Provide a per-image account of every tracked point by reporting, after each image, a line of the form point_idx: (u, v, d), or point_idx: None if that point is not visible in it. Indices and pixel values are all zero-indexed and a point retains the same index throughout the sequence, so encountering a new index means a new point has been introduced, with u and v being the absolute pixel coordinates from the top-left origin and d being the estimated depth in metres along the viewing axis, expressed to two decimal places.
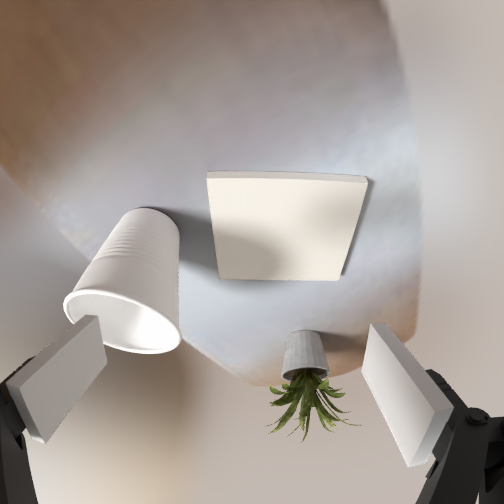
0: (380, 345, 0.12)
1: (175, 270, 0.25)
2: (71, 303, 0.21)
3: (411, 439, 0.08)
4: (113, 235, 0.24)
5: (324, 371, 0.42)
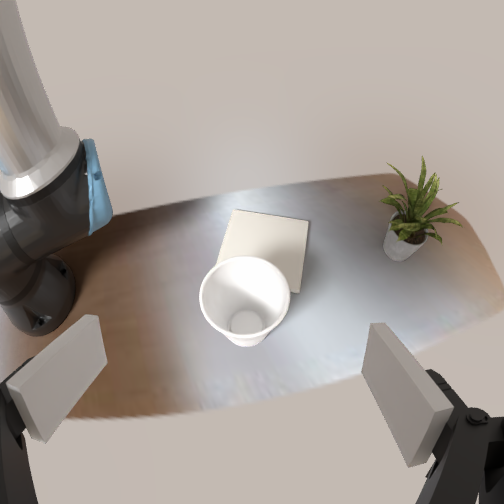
0: (380, 345, 0.12)
1: (247, 284, 0.40)
2: None
3: (411, 439, 0.08)
4: (217, 321, 0.38)
5: None
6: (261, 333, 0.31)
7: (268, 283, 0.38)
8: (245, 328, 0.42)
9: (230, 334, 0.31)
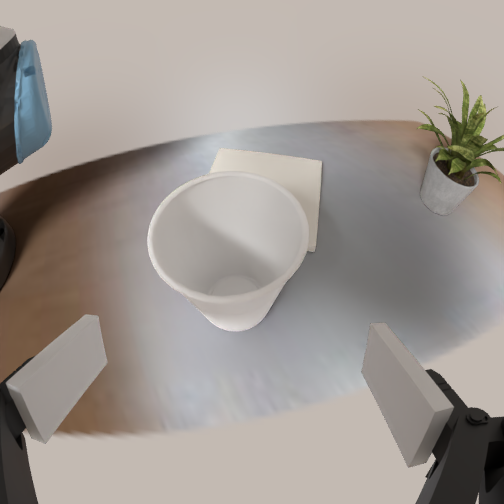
0: (380, 345, 0.12)
1: (235, 229, 0.25)
2: None
3: (411, 439, 0.08)
4: (187, 287, 0.24)
5: None
6: (257, 294, 0.16)
7: (269, 222, 0.23)
8: None
9: (197, 296, 0.16)
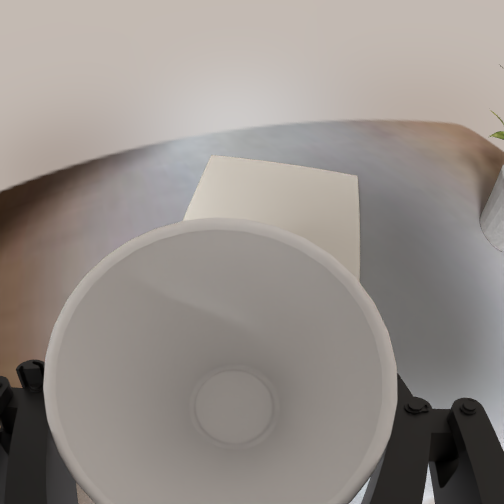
0: None
1: None
2: (124, 501, 0.06)
3: None
4: None
5: None
6: None
7: (297, 314, 0.12)
8: (230, 414, 0.16)
9: None
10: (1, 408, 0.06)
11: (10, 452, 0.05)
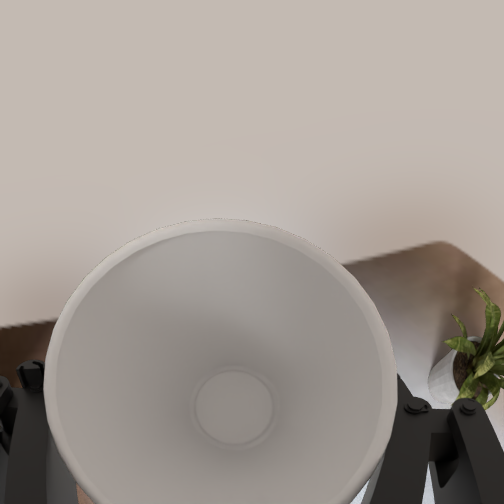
0: None
1: None
2: (125, 502, 0.06)
3: None
4: None
5: (474, 343, 0.24)
6: None
7: (297, 315, 0.12)
8: (230, 414, 0.16)
9: None
10: (1, 408, 0.06)
11: (10, 452, 0.05)
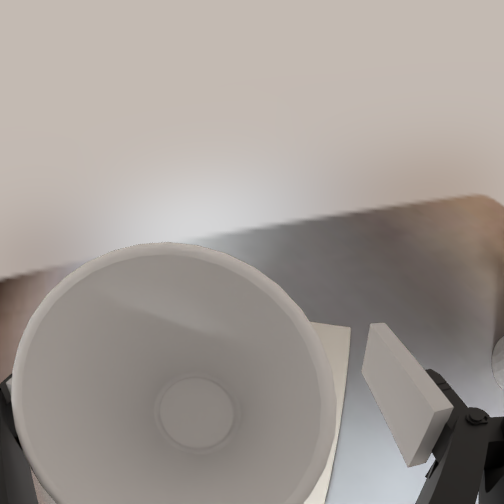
0: (379, 345, 0.12)
1: None
2: None
3: (411, 439, 0.08)
4: None
5: None
6: None
7: (250, 334, 0.12)
8: (193, 420, 0.16)
9: None
10: None
11: None
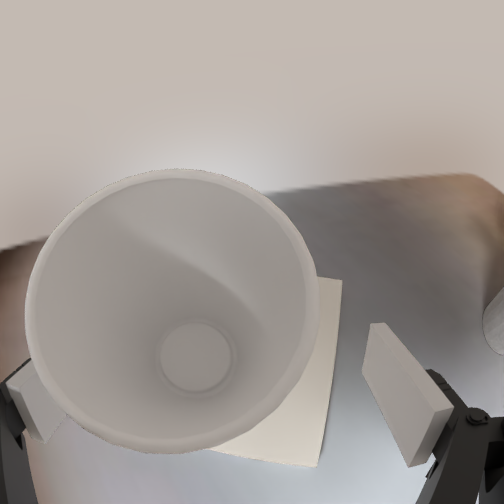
0: (380, 345, 0.12)
1: (192, 261, 0.16)
2: (83, 407, 0.07)
3: (411, 439, 0.08)
4: None
5: None
6: (211, 443, 0.07)
7: (245, 257, 0.14)
8: (192, 362, 0.18)
9: (97, 433, 0.06)
10: None
11: None
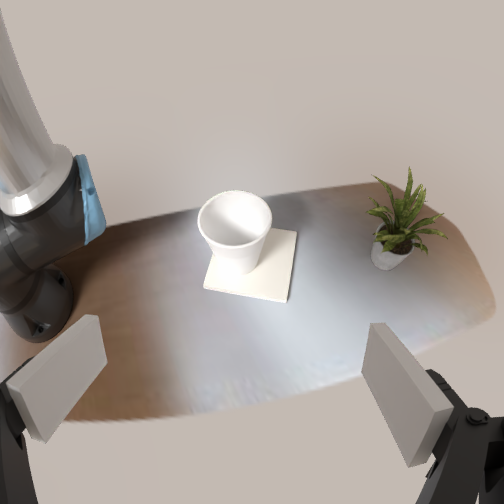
0: (380, 345, 0.12)
1: (237, 219, 0.47)
2: (217, 246, 0.39)
3: (411, 439, 0.08)
4: None
5: None
6: (249, 244, 0.38)
7: (254, 215, 0.45)
8: None
9: (224, 246, 0.38)
10: None
11: None
